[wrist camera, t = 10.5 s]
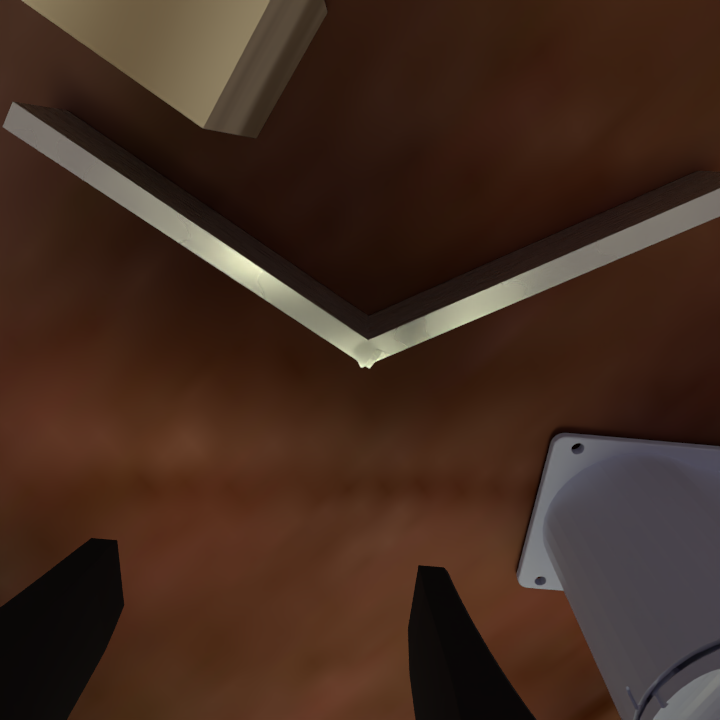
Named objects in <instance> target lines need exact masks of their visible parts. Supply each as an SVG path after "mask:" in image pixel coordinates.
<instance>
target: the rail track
mask: <svg viewBox="0 0 720 720" xmlns="http://www.w3.org/2000/svg"><path fill="white" fill-rule="evenodd" d="M3 127H4V128H5V129H7V130H8V131H10V132H11V133H13V134H14V135H16V136H17V137H19V138H20V139H22V140H23V141H25V142H26V143H28V144H29V145H31V146H32V147H34V148H35V149H37V150H38V151H40V152H41V153H43V154H45V155H46V156H48V157H49V158H51V159H52V160H54V161H55V162H57V163H58V164H60V165H61V166H63V167H64V168H66V169H67V170H69V171H70V172H72V173H73V174H75V175H76V176H78V177H79V178H81V179H82V180H84V181H85V182H87V183H89V184H90V185H92V186H93V187H95V188H96V189H98V190H99V191H101V192H102V193H104V194H105V195H107V196H108V197H110V198H111V199H113V200H114V201H116V202H117V203H119V204H120V205H122V206H123V207H125V208H126V209H128V210H130V211H131V212H133V213H134V214H136V215H137V216H139V217H140V218H142V219H143V220H145V221H146V222H148V223H149V224H151V225H152V226H154V227H155V228H157V229H158V230H160V231H161V232H163V233H164V234H166V235H167V236H169V237H170V238H172V239H174V240H175V241H177V242H178V243H180V244H181V245H183V246H184V247H186V248H187V249H189V250H190V251H192V252H193V253H195V254H196V255H198V256H199V257H201V258H202V259H204V260H205V261H207V262H208V263H210V264H211V265H213V266H214V267H216V268H218V269H219V270H221V271H222V272H224V273H225V274H227V275H228V276H230V277H231V278H233V279H234V280H236V281H237V282H239V283H240V284H242V285H243V286H245V287H246V288H248V289H249V290H251V291H252V292H254V293H255V294H257V295H259V296H260V297H262V298H263V299H265V300H266V301H268V302H269V303H271V304H272V305H274V306H275V307H277V308H278V309H280V310H281V311H283V312H284V313H286V314H287V315H289V316H290V317H292V318H293V319H295V320H296V321H298V322H299V323H301V324H303V325H304V326H306V327H307V328H309V329H310V330H312V331H313V332H315V333H316V334H318V335H319V336H321V337H322V338H324V339H325V340H327V341H328V342H330V343H331V344H333V345H334V346H336V347H337V348H339V349H340V350H342V351H344V352H345V353H347V354H348V355H350V356H351V357H353V358H354V359H356V360H357V361H358V363H359V365H360V367H361V368H362V367H364V366H366V367H368V368H369V369H370V368H371V366H372V365H373V364H374V362H376V361H378V360H381V359H383V358H386V357H388V356H390V355H393V354H395V353H397V352H400V351H402V350H404V349H407V348H409V347H412V346H414V345H416V344H419V343H421V342H423V341H426V340H428V339H430V338H433V337H435V336H438V335H440V334H442V333H445V332H447V331H449V330H452V329H454V328H456V327H459V326H461V325H464V324H466V323H468V322H471V321H473V320H475V319H478V318H480V317H482V316H485V315H487V314H490V313H492V312H494V311H497V310H499V309H501V308H504V307H506V306H509V305H511V304H513V303H516V302H518V301H520V300H523V299H525V298H527V297H530V296H532V295H535V294H537V293H539V292H542V291H544V290H546V289H549V288H551V287H553V286H556V285H558V284H561V283H563V282H565V281H568V280H570V279H572V278H575V277H577V276H579V275H582V274H584V273H587V272H589V271H591V270H594V269H596V268H598V267H601V266H603V265H605V264H608V263H610V262H613V261H615V260H617V259H620V258H622V257H624V256H627V255H629V254H631V253H634V252H636V251H639V250H641V249H643V248H646V247H648V246H650V245H653V244H655V243H657V242H660V241H662V240H665V239H667V238H669V237H672V236H674V235H676V234H679V233H681V232H683V231H686V230H688V229H691V228H693V227H695V226H698V225H700V224H702V223H705V222H707V221H710V220H712V219H714V218H717V217H719V216H720V172H715V171H696V172H694V173H692V174H689V175H687V176H685V177H683V178H680V179H678V180H676V181H674V182H671V183H669V184H667V185H664V186H662V187H660V188H658V189H655V190H653V191H651V192H649V193H646V194H644V195H642V196H640V197H637V198H635V199H633V200H630V201H628V202H626V203H624V204H621V205H619V206H617V207H615V208H612V209H610V210H608V211H605V212H603V213H601V214H599V215H596V216H594V217H592V218H590V219H587V220H585V221H583V222H581V223H578V224H576V225H574V226H571V227H569V228H567V229H565V230H562V231H560V232H558V233H556V234H553V235H551V236H549V237H546V238H544V239H542V240H540V241H537V242H535V243H533V244H531V245H528V246H526V247H524V248H522V249H519V250H517V251H515V252H512V253H510V254H508V255H506V256H503V257H501V258H499V259H497V260H494V261H492V262H490V263H487V264H485V265H483V266H481V267H478V268H476V269H474V270H472V271H469V272H467V273H465V274H463V275H460V276H458V277H456V278H453V279H451V280H449V281H447V282H444V283H442V284H440V285H438V286H435V287H433V288H431V289H428V290H426V291H424V292H422V293H419V294H417V295H415V296H413V297H410V298H408V299H406V300H404V301H401V302H399V303H397V304H394V305H392V306H390V307H388V308H385V309H383V310H381V311H379V312H376V313H374V314H372V315H369V316H368V315H366V314H365V313H363V312H362V311H360V310H359V309H357V308H356V307H354V306H353V305H351V304H350V303H349V302H347V301H346V300H344V299H343V298H341V297H340V296H338V295H337V294H335V293H334V292H332V291H331V290H329V289H328V288H327V287H325V286H324V285H322V284H321V283H319V282H318V281H316V280H315V279H313V278H312V277H310V276H309V275H308V274H306V273H305V272H303V271H302V270H300V269H299V268H297V267H296V266H294V265H293V264H291V263H290V262H289V261H287V260H286V259H284V258H283V257H281V256H280V255H278V254H277V253H275V252H274V251H272V250H271V249H270V248H268V247H267V246H265V245H264V244H262V243H261V242H259V241H258V240H256V239H255V238H253V237H252V236H250V235H249V234H248V233H246V232H245V231H243V230H242V229H240V228H239V227H237V226H236V225H234V224H233V223H231V222H230V221H229V220H227V219H226V218H224V217H223V216H221V215H220V214H218V213H217V212H215V211H214V210H212V209H211V208H210V207H208V206H207V205H205V204H204V203H202V202H201V201H199V200H198V199H196V198H195V197H193V196H192V195H190V194H189V193H188V192H186V191H185V190H183V189H182V188H180V187H179V186H177V185H176V184H174V183H173V182H171V181H170V180H169V179H167V178H166V177H164V176H163V175H161V174H160V173H158V172H157V171H155V170H154V169H152V168H151V167H150V166H148V165H147V164H145V163H144V162H142V161H141V160H139V159H138V158H136V157H135V156H133V155H132V154H130V153H129V152H128V151H126V150H125V149H123V148H122V147H120V146H119V145H117V144H116V143H114V142H113V141H111V140H110V139H109V138H107V137H106V136H104V135H103V134H101V133H100V132H98V131H97V130H95V129H94V128H92V127H91V126H90V125H88V124H87V123H85V122H84V121H82V120H81V119H79V118H78V117H76V116H75V115H73V114H72V113H70V112H69V111H68V110H62V109H56V108H50V107H43V106H37V105H31V104H25V103H19V102H12V105H11V107H10V110H9V112H8V115H7V117H6V120H5V123H4V125H3Z"/></svg>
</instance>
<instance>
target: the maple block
mask: <svg viewBox="0 0 720 720" xmlns="http://www.w3.org/2000/svg"><path fill="white" fill-rule="evenodd" d="M22 1H23V2H25V3H26V4H27V5H29V6H30V7H32V8H33V9H34V10H36V11H37V12H39V13H40V14H42V15H43V16H44V17H46V18H47V19H49V20H50V21H51V22H53V23H54V24H56V25H57V26H59V27H60V28H61V29H63V30H64V31H66V32H67V33H68V34H70V35H71V36H73V37H74V38H76V39H77V40H78V41H80V42H81V43H83V44H84V45H85V46H87V47H88V48H90V49H91V50H93V51H94V52H95V53H97V54H98V55H100V56H101V57H102V58H104V59H105V60H107V61H108V62H110V63H111V64H112V65H114V66H115V67H117V68H118V69H119V70H121V71H122V72H124V73H125V74H127V75H128V76H129V77H131V78H132V79H134V80H135V81H136V82H138V83H139V84H141V85H142V86H144V87H145V88H146V89H148V90H149V91H151V92H152V93H153V94H155V95H156V96H158V97H159V98H161V99H162V100H163V101H165V102H166V103H168V104H169V105H170V106H172V107H173V108H175V109H176V110H178V111H179V112H180V113H182V114H183V115H185V116H186V117H187V118H189V119H190V120H192V121H193V122H195V123H196V124H197V125H199V126H200V127H202V128H203V129H209V130H214V131H219V132H225V133H230V134H235V135H241V136H246V137H251V138H257V137H258V135H259V133H260V131H261V129H262V128H263V126H264V124H265V122H266V121H267V119H268V117H269V115H270V113H271V112H272V110H273V108H274V106H275V105H276V103H277V101H278V99H279V98H280V96H281V94H282V92H283V90H284V89H285V87H286V85H287V83H288V82H289V80H290V78H291V76H292V74H293V73H294V71H295V69H296V67H297V66H298V64H299V62H300V60H301V59H302V57H303V55H304V53H305V51H306V50H307V48H308V46H309V44H310V43H311V41H312V39H313V37H314V35H315V34H316V32H317V30H318V28H319V27H320V25H321V23H322V21H323V20H324V18H325V16H326V14H327V8H326V5H325V1H324V0H22Z"/></svg>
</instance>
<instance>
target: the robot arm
mask: <svg viewBox="0 0 720 720" xmlns="http://www.w3.org/2000/svg"><path fill="white" fill-rule="evenodd" d="M577 443H581V445H580V446H579V447H578V448H577V449H571V448H572V446H573V445H575V444H577ZM541 576H542V577H541ZM537 577H541V578H539V579H536V578H537ZM517 579H518V582H519V584H520V585H521V586H523V587H527V588H538V589H550V590H562V591H564V592H565V594H566V597H567V599H568V601H569V603H570V606H571V608H572V610H573V612H574V615H575V617H576V619H577V621H578V623H579V626H580V628H581V630H582V632H583V635H584V637H585V639H586V641H587V644H588V646H589V648H590V650H591V652H592V655H593V657H594V659H595V661H596V664H597V666H598V668H599V670H600V672H601V675H602V677H603V679H604V681H605V684H606V686H607V688H608V690H609V693H610V695H611V697H612V699H613V701H614V704H615V706H616V708H617V710H618V713H619V715H620V717H621V719H622V720H720V446H711V445H700V444H688V443H677V442H666V441H654V440H643V439H631V438H620V437H608V436H597V435H586V434H574V433H560V434H558V435H556V436H555V437H554V438H553V439H552V441H551V443H550V447H549V451H548V455H547V459H546V462H545V466H544V470H543V474H542V478H541V482H540V486H539V489H538V493H537V497H536V501H535V505H534V509H533V512H532V516H531V520H530V524H529V528H528V532H527V536H526V539H525V543H524V547H523V551H522V555H521V559H520V563H519V566H518V570H517ZM123 607H124V599H123V590H122V581H121V572H120V562H119V553H118V544H117V540H107V539H95V538H91V539H90V540H88V541H87V542H86V543H84V544H83V545H82V546H80V547H79V548H78V549H77V550H75V551H74V552H73V553H71V554H70V555H69V556H67V557H66V558H65V559H64V560H62V561H61V562H60V563H58V564H57V565H56V566H55V567H53V568H52V569H51V570H49V571H48V572H47V573H45V574H44V575H43V576H42V577H40V578H39V579H38V580H36V581H35V582H34V583H32V584H31V585H30V586H28V587H27V588H26V589H24V590H23V591H22V592H20V593H19V594H18V595H16V596H15V597H14V598H12V599H11V600H10V601H8V602H7V603H6V604H4V605H3V606H2V607H0V720H67V718H68V716H69V715H70V713H71V711H72V709H73V708H74V706H75V704H76V702H77V700H78V699H79V697H80V695H81V693H82V692H83V690H84V688H85V686H86V684H87V683H88V681H89V679H90V677H91V675H92V674H93V672H94V670H95V668H96V666H97V665H98V663H99V661H100V659H101V657H102V655H103V654H104V652H105V650H106V647H107V645H108V643H109V641H110V638H111V636H112V634H113V631H114V629H115V627H116V624H117V622H118V619H119V617H120V614H121V612H122V609H123ZM408 643H409V671H410V681H411V689H412V696H413V704H414V711H415V719H416V720H536V718H535V717H534V716H533V714H532V713H531V712H530V710H529V709H528V708H527V706H526V705H525V704H524V702H523V701H522V699H521V698H520V696H519V695H518V694H517V692H516V691H515V689H514V688H513V686H512V685H511V683H510V682H509V680H508V679H507V677H506V676H505V674H504V673H503V671H502V670H501V668H500V667H499V665H498V663H497V662H496V660H495V659H494V657H493V655H492V654H491V652H490V651H489V649H488V647H487V645H486V644H485V642H484V640H483V639H482V637H481V635H480V634H479V632H478V630H477V628H476V627H475V625H474V623H473V621H472V619H471V618H470V616H469V614H468V612H467V610H466V608H465V606H464V605H463V603H462V601H461V599H460V597H459V595H458V593H457V591H456V589H455V587H454V584H453V582H452V580H451V578H450V576H449V574H448V572H447V570H446V569H445V568H444V567H432V566H420V565H419V566H418V572H417V578H416V584H415V590H414V596H413V602H412V608H411V614H410V620H409V626H408Z"/></svg>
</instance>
